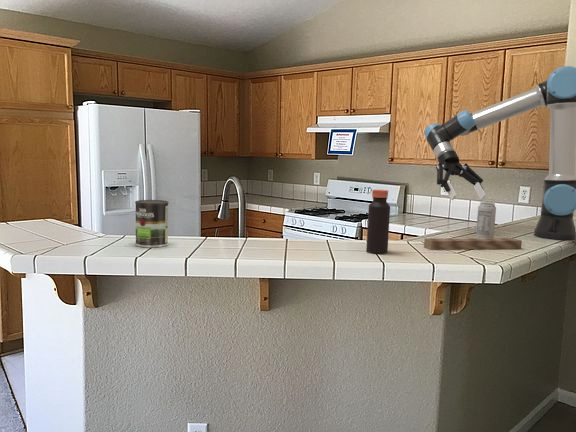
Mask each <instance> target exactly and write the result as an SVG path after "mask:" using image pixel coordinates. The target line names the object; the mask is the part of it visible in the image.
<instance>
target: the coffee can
mask: <svg viewBox="0 0 576 432" xmlns="http://www.w3.org/2000/svg"><path fill="white" fill-rule="evenodd" d="M134 203H135V246H136V247H138V248H147V249H149V248H151V249H152V248H153V249H154V248H155V249H156V248H163V247H167V246H168V244H169V242H168V241H169V201H167V200H162V199H139V200H136V201H135V202H134Z"/></svg>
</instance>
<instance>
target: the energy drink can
mask: <svg viewBox="0 0 576 432" xmlns="http://www.w3.org/2000/svg"><path fill="white" fill-rule="evenodd" d="M496 207H497V206H496V205H495V203H494V202H488V201H485V202H484V201H482V202H481V201H480V202H479V205H478V207H477V215H476V216H477V217H476V228H475V229H476V230H475V238H495V237H494V235H495V225H496V224H495V223H496V213H497V208H496Z"/></svg>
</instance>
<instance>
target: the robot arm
mask: <svg viewBox="0 0 576 432" xmlns="http://www.w3.org/2000/svg"><path fill="white" fill-rule="evenodd" d="M539 107H543V108H548V109H549V110H550V129H549V130H550V131H549V154H548V155H549V156H548V158H549V160H548V161H549V163H548V175H547V176H545V178H544V179H543V180H544V182H543V185H542V197H541V198H542V199H541V207H540V208H541V209H540V216H539V219H538V221H537V224H536V225H535V226H536V227H535V228H534V230H533V231H534V232H533V235H534V236H536V237H539V238H543V239H549V240H561V241H562V240H563V241H565V240H566V241H573V240H576V228H575V224H574V223H575V222H574V214H575V213H574V212H575V211H576V174H575V173H576V67H575V66H571V65H565V66H561V67H558V68H556V69H555V70H553V71H552V72H551V73H550V74H549V76H548V78H547V79H546V80H544V81H542V82H540V83H537V84H536V85H535V87H534V88H532V89H530V90H527V91H525V92H522V93H519V94H517V95H513V96H511V97H510V98H507V99H504V100H502V101H499V102H497V103H494V104H491V105H489V106H486V107H484V108H481V109H478V110H475V111H473V112H471V113H470V111H469V110H467V109H464V110H462V111H460V112H458V113H457V114H456V115H455V116H453V117H451V118H450V119H448V120H447V121H445V122H443V123H442V124H440V123H438V122H435V123H434V122H433V124H432V123H431V124H430V125H428V126H427V127H426V128H425V130H424V136H425V138H426V141H427V143H428V144H429V145H428V146H429V147H430V148H431V150H432V152H433V154H434V156H435V158H436V160H437V162H438V163H437V165H436V167H435V168H436V184H437V185H438V186H440V188H443V189H444V190H445V192H446V193H447V194H448V196H449V198H450V200H451V201H454V199H456V197H457V193H456V191H455V190H454V187H453V186H452V184H451V182H450V181H449V179H450V176H458V177H460V178H463V179H465V181H468V183H470V184H471V185H473V188H474V190H475V193H476V194H477V196H478V198H479V199H480V201H483V200H484V199H485V198H486V196H487V194H486V192H485V191H484V187H483V185H482V183H483V182H484V179H483V178H482V177H481V176H480V175H479V174H477V172H475V170H473V169H472V168H471V167H470V166H469V164H468V163H464V164H461V163H460V157H459V155H458V153H457V152H456V150H455V148H454V147H453V144H452V143H451V142H452V140H454V139H456V138H457V137H459V136H461V137H462V136H463V137H464V136H468V135H469V134H470V133H473V132H475V131H478V130H481V129H483V128H487V127H489V126H492V125H494V124H497V123H500V122H502V121H505V120H508V119H510V118H514V117H515V116H518V115H521V114H524V113H526V112H529V111H532V110H535V109H538V108H539ZM444 171H445V173H444Z"/></svg>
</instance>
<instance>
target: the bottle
mask: <svg viewBox="0 0 576 432" xmlns="http://www.w3.org/2000/svg"><path fill="white" fill-rule="evenodd" d="M371 195H372V201H371V203H370V204H369V205H368V213H367V214H368V215H367V231H366V232H367V233H366V249H365V250H366V252H367V253H369V254H374V255H375V254H376V255H384V254H385V255H386V254H388V253H389V252H388V249H389V231H390V217H391V214H390V213H391V205H390V204H389V203H388V202H387V200H388V199H389V198H388V197H389V196H388V195H389V190H387V189H372V193H371Z"/></svg>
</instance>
